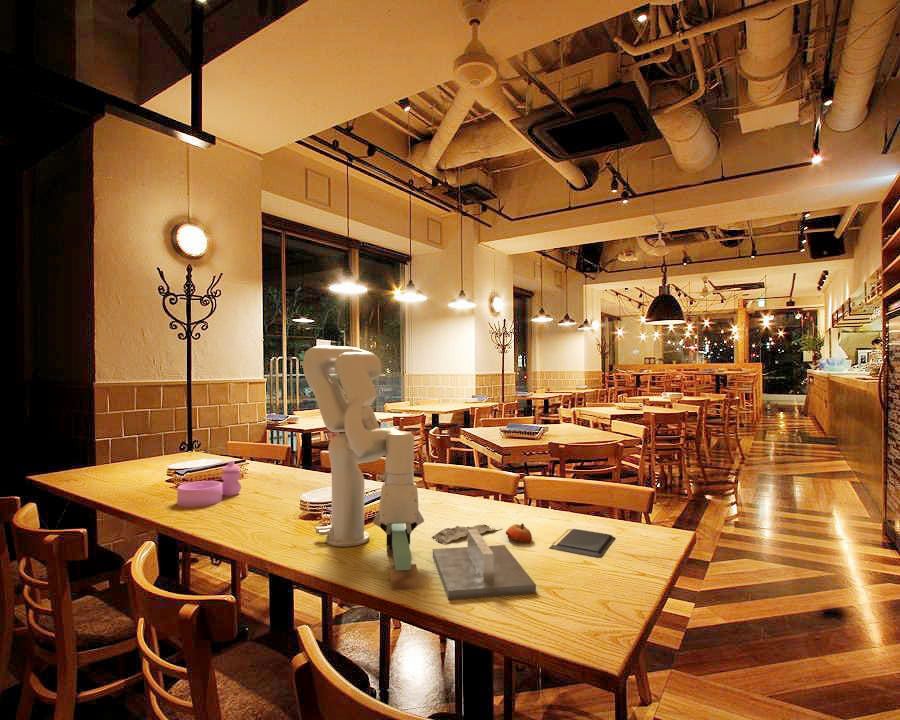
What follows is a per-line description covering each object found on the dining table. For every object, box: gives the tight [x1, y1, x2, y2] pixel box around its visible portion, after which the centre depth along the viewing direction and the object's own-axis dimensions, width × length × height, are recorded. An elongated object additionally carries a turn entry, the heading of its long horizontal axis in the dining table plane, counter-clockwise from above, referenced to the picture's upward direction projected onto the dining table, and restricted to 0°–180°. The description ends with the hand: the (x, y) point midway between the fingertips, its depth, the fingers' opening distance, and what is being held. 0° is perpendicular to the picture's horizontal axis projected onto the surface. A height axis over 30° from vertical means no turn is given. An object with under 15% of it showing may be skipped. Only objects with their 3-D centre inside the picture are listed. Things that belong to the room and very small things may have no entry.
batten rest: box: [386, 545, 419, 591], centre depth 127 cm, size 6×26×4 cm, turn 10°
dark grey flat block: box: [548, 528, 616, 559], centre depth 146 cm, size 20×2×15 cm
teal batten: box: [391, 523, 412, 571], centre depth 128 cm, size 4×26×4 cm, turn 10°
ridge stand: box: [432, 529, 537, 601], centre depth 123 cm, size 20×26×8 cm
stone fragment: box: [431, 524, 496, 545], centre depth 154 cm, size 25×3×10 cm
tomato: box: [505, 523, 533, 544], centre depth 148 cm, size 8×7×7 cm
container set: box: [176, 460, 242, 508], centre depth 195 cm, size 25×15×13 cm, turn 151°
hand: (398, 547), depth 132 cm, fingers closed on teal batten, 3 cm apart
